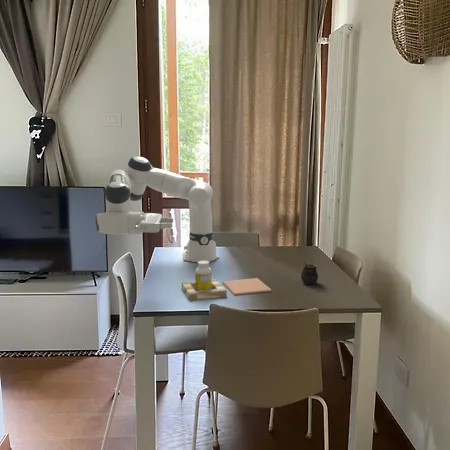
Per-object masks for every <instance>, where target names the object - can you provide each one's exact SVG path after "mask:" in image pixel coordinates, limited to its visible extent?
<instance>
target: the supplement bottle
mask: <svg viewBox="0 0 450 450" xmlns="http://www.w3.org/2000/svg"><path fill="white" fill-rule="evenodd" d="M212 271H213V270H212V268H211V267H210V262H209V261H199V262H197V267H196V269H195V271H194V273H195V274H194V275H195V278H194V279H195V280H194V281H195V288H196V289H195V291H201V290H211V289H212V280H213V278H212V277H213V275H212V273H213V272H212Z"/></svg>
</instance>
